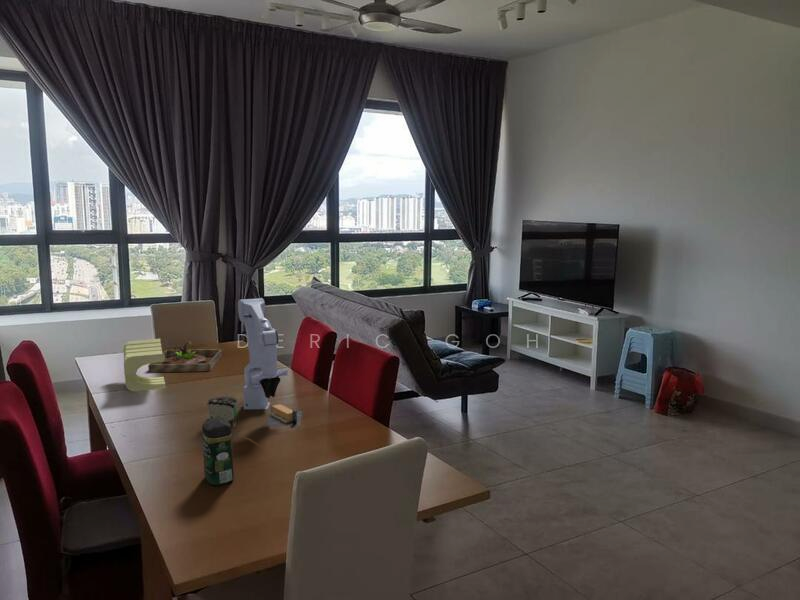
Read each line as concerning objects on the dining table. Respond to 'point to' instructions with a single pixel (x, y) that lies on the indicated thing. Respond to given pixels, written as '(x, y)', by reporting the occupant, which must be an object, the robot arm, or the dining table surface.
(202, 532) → the dining table surface
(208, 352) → the square wooden planter tray
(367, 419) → the dining table surface
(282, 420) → the label near
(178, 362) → the plant
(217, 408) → the food container
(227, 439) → the coffee jar
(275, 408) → the yellow rectangular bar
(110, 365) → the dining table surface
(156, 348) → the slatted curved stool
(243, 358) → the dining table surface
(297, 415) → the tray
